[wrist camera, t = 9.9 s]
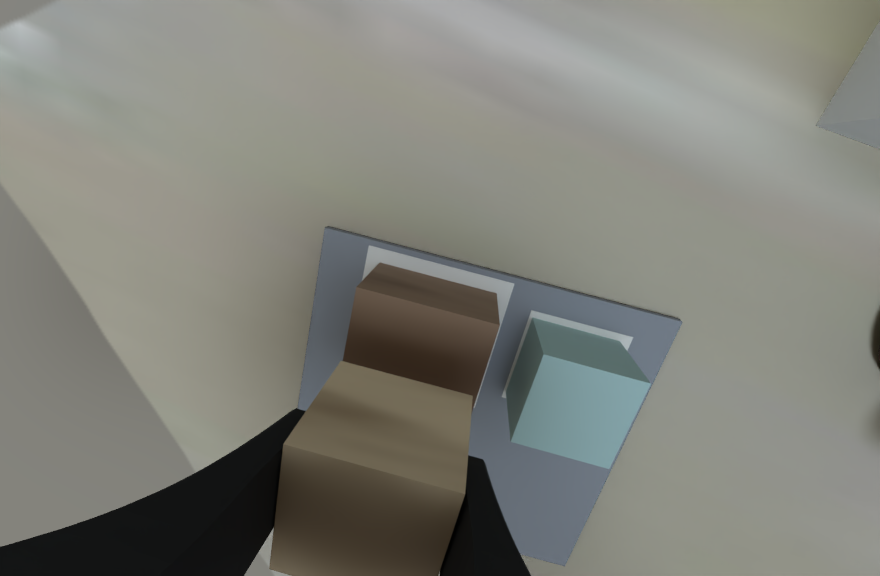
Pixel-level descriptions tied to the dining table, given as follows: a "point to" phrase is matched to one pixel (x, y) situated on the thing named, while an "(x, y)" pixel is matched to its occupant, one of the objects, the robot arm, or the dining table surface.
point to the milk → (858, 98)
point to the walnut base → (422, 328)
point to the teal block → (573, 393)
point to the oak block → (372, 478)
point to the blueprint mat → (494, 376)
